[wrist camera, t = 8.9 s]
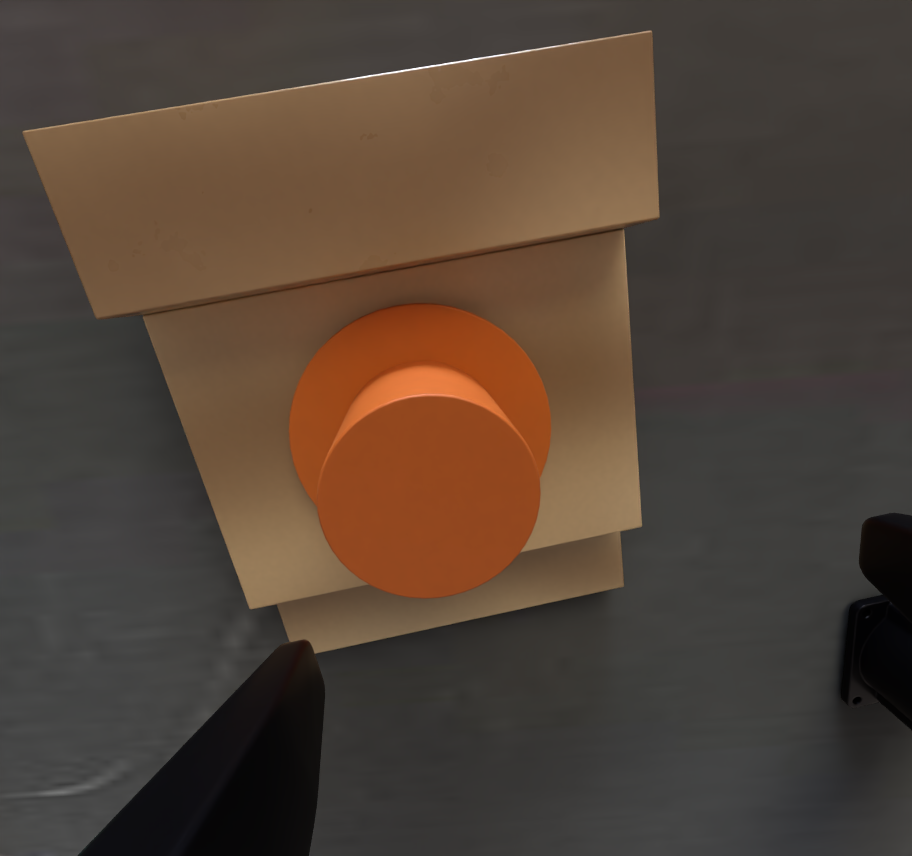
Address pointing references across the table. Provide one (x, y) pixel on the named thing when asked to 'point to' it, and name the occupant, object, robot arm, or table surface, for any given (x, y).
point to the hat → (422, 447)
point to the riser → (380, 287)
